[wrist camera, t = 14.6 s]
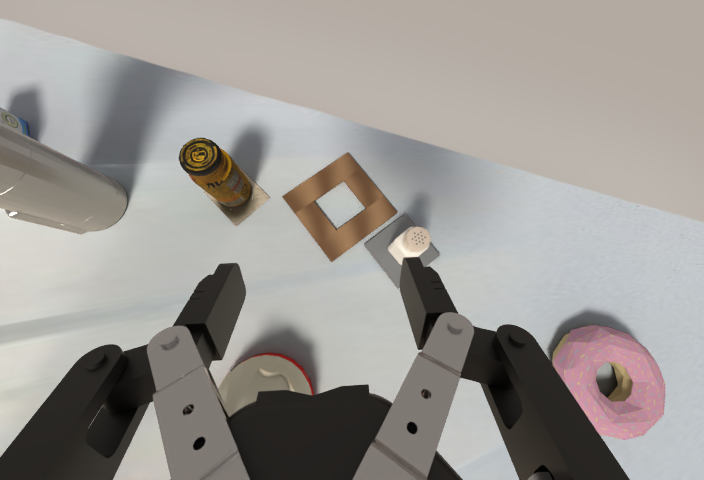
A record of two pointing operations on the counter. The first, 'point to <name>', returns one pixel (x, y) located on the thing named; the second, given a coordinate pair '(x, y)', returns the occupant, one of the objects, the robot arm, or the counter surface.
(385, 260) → the coaster
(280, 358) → the pompom beanie hat
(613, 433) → the donut
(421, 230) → the salt shaker
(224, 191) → the condiment
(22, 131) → the medicine box
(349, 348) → the counter surface
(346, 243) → the square wooden frame
